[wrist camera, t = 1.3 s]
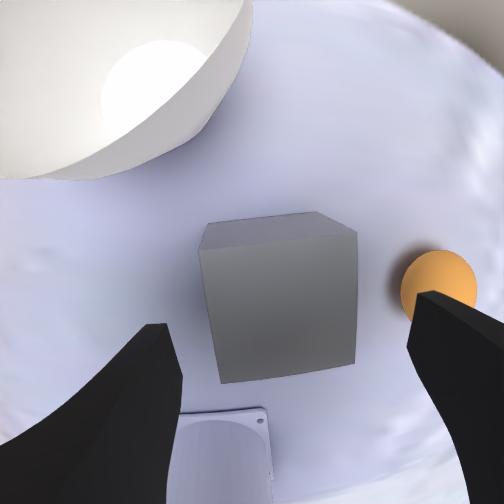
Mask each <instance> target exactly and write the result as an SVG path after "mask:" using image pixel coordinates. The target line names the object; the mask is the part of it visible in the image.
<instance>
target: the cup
mask: <svg viewBox="0 0 504 504" xmlns="http://www.w3.org/2000/svg"><path fill="white" fill-rule="evenodd" d="M252 25H253V0H0V178H2V179H54V180H73V181H78V180H90V179H95V178H101V177H106V176H109V175H113V174H116V173H120V172H123V171H126V170H129V169H131V168H134V167H137V166H139V165H141V164H143V163H145V162H148V161H150V160H152V159H154V158H156V157H158V156H160V155H162V154H164V153H166V152H168V151H170V150H172V149H174V148H176V147H178V146H180V145H182V144H184V143H186V142H187V141H189V140H190V139H192V138H193V137H194V136H195V135H197V134H198V133H199V132H200V131H201V130H202V128H203V127H204V126H205V125H206V123H207V122H208V120H209V119H210V117H211V116H212V114H213V113H214V111H215V110H216V108H217V107H218V105H219V104H220V102H221V101H222V99H223V98H224V96H225V94H226V93H227V91H228V90H229V88H230V86H231V85H232V83H233V82H234V79H235V77H236V75H237V74H238V72H239V70H240V67H241V65H242V62H243V59H244V57H245V54H246V52H247V49H248V45H249V41H250V38H251V32H252Z"/></svg>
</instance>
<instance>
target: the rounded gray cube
mask: <svg viewBox="0 0 504 504" xmlns="http://www.w3.org/2000/svg"><path fill="white" fill-rule="evenodd" d="M198 253H199V260H200V267H201V273H202V280H203V286H204V292H205V298H206V304H207V310H208V316H209V322H210V327H211V333H212V339H213V344H214V349H215V355H216V360H217V365H218V371H219V376H220V381H221V384H226V383H236V382H245V381H253V380H261V379H269V378H276V377H283V376H290V375H296V374H302V373H308V372H314V371H320V370H325V369H330V368H335V367H340V366H345V365H350V364H355V349H356V330H357V297H358V248H357V232H356V231H354V230H352V229H350V228H348V227H346V226H344V225H342V224H340V223H338V222H336V221H334V220H332V219H330V218H328V217H326V216H324V215H322V214H320V213H318V212H308V213H298V214H289V215H279V216H270V217H260V218H251V219H242V220H234V221H225V222H217V223H209V224H208V225H207V228H206V231H205V233H204V236H203V239H202V241H201V244H200V247H199V249H198Z"/></svg>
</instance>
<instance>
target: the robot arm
mask: <svg viewBox="0 0 504 504" xmlns="http://www.w3.org/2000/svg"><path fill="white" fill-rule="evenodd" d="M407 350H408V352H409V355H410V357H411V360H412V362H413V365H414V367H415V370H416V372H417V374H418V376H419V378H420V380H421V381H422V383H423V385H424V387H425V389H426V390H427V392H428V394H429V396H430V397H431V399H432V401H433V403H434V405H435V406H436V408H437V410H438V412H439V414H440V416H441V417H442V419H443V421H444V423H445V425H446V427H447V429H448V431H449V433H450V435H451V438H452V440H453V443H454V446H455V449H456V451H457V454H458V457H459V460H460V464H461V467H462V471H463V474H464V478H465V482H466V486H467V490H468V496H469V501H470V504H504V323H502V322H500V321H498V320H496V319H494V318H492V317H490V316H488V315H486V314H484V313H482V312H480V311H478V310H476V309H474V308H472V307H470V306H468V305H466V304H464V303H462V302H460V301H458V300H456V299H454V298H452V297H450V296H447V295H445V294H443V293H440V292H438V291H435V290H432V291H426V292H421V293H417V297H416V303H415V308H414V314H413V319H412V324H411V329H410V333H409V338H408V342H407ZM182 380H183V375H182V372H181V369H180V366H179V363H178V360H177V356H176V353H175V350H174V347H173V343H172V340H171V337H170V333H169V330H168V326H167V323H161V324H146V325H145V326H144V327H143V328H142V329H141V330H140V331H139V332H138V333H137V334H136V335H135V336H134V337H133V338H132V339H131V340H130V341H129V342H128V343H127V344H126V345H125V346H124V347H123V348H122V349H121V350H120V351H119V352H118V353H117V354H116V355H115V356H114V357H113V358H112V360H111V361H110V362H109V363H108V364H107V365H106V366H105V367H104V368H103V369H102V370H101V371H100V372H99V373H97V374H96V375H95V376H94V377H93V378H92V379H91V380H90V381H89V382H88V383H87V384H86V385H85V386H84V387H83V388H81V389H80V390H79V391H78V392H77V393H76V394H75V395H74V396H73V397H71V398H70V399H69V400H68V401H67V402H65V403H64V404H63V405H62V406H60V407H59V408H58V409H57V410H55V411H54V412H53V413H51V414H50V415H49V416H47V417H46V418H45V419H43V420H42V421H40V422H39V423H37V424H36V425H34V426H32V427H31V428H29V429H28V430H26V431H25V432H23V433H22V434H20V435H18V436H17V437H15V438H13V439H12V440H10V441H8V442H6V443H4V444H2V445H0V504H274V503H273V497H272V490H271V484H270V482H271V481H273V480H274V475H273V466H272V457H271V448H270V439H269V431H268V422H267V414H266V410H264V409H262V408H257V409H248V410H239V411H229V412H217V413H202V414H183V415H179V413H180V408H181V397H182ZM258 419H262V420H258Z"/></svg>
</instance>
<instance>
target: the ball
mask: <svg viewBox="0 0 504 504" xmlns="http://www.w3.org/2000/svg"><path fill="white" fill-rule="evenodd" d="M432 290H435V291H438V292H440V293H443V294H445V295H447V296H450V297H452V298H454V299H456V300H458V301H460V302H462V303H464V304H466V305H468V306H470V307H472V308H474V305H475V302H476V298H477V283H476V278H475V275H474V273H473V270H472V269H471V267H470V266H469V264H468V263H467V262H466V261H465V260H464V259H463V258H462V257H461V256H459V255H457V254H455V253H453V252H450V251H446V250H434V251H430V252H427V253H425V254H423V255H421V256H419V257H418V258H417V259H416V260H415V261H414V262H413V263H412V264H411V265H410V266H409V267H408V269H407V271H406V272H405V275H404V277H403V280H402V284H401V302H402V306H403V309H404V311H405V313H406V315H407V317H408V318H409V319H410V321H411V322H412V319H413V314H414V308H415V303H416V297H417V293H421V292H426V291H432Z"/></svg>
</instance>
